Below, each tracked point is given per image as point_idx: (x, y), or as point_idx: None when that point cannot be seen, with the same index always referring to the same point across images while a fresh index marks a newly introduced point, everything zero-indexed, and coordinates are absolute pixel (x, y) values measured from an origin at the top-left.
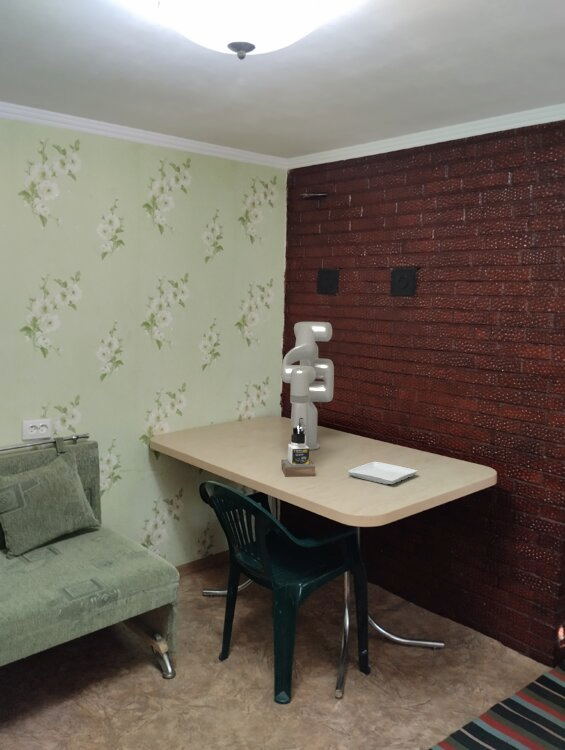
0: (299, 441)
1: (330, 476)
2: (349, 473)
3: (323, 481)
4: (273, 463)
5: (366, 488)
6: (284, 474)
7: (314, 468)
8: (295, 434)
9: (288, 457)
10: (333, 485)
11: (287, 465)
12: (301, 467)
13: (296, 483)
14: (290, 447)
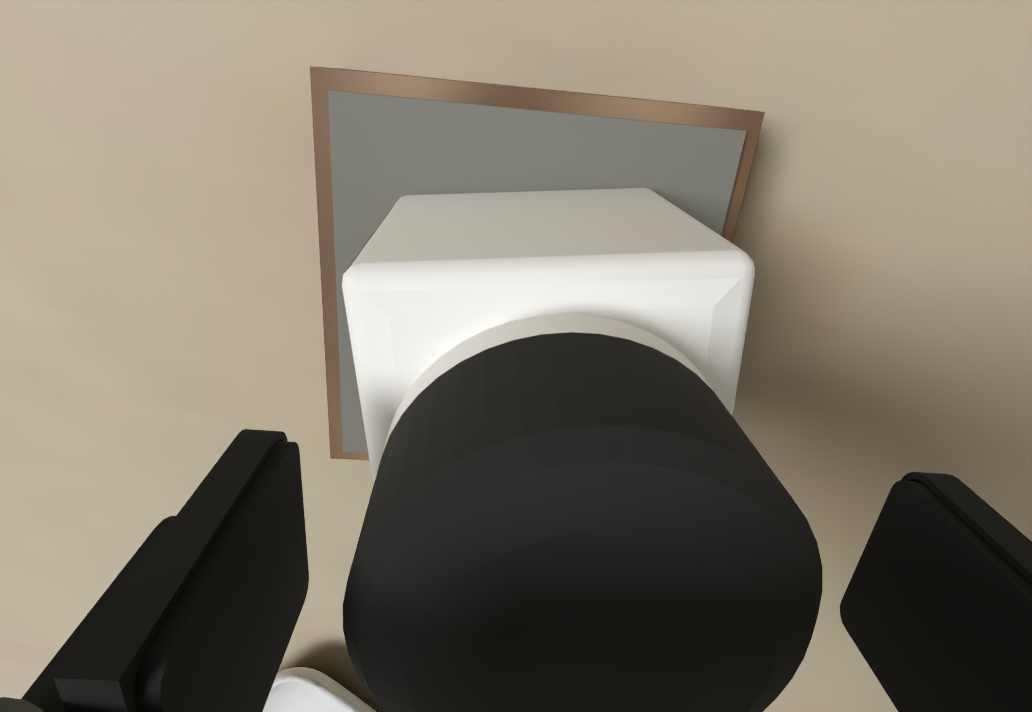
0: (169, 517)
1: (344, 524)
2: (283, 670)
3: (176, 437)
4: (979, 54)
5: (11, 674)
6: (427, 77)
7: (333, 443)
8: (557, 583)
9: (616, 199)
10: (52, 487)
11: (399, 121)
12: (324, 304)
13: (63, 146)
14: (513, 256)
